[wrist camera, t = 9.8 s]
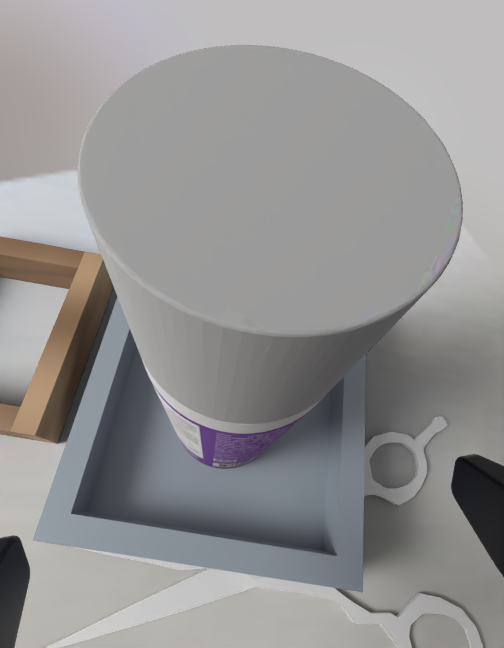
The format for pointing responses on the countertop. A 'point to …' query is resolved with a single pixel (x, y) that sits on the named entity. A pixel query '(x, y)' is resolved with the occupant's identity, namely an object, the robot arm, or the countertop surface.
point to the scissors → (228, 583)
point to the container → (262, 231)
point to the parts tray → (210, 482)
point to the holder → (56, 332)
